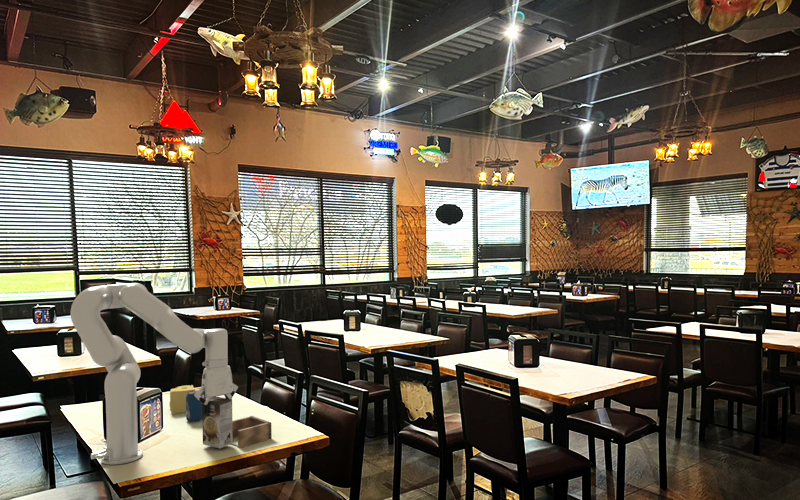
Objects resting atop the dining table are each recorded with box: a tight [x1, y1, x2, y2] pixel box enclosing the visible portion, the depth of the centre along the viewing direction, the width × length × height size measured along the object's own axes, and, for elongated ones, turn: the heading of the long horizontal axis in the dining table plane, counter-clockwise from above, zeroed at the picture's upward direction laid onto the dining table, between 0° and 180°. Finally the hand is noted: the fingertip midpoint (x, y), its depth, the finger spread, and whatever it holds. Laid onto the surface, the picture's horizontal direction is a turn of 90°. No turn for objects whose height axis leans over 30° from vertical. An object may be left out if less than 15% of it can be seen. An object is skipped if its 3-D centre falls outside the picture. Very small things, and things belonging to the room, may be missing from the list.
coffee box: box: [202, 396, 234, 449], centre depth 196 cm, size 9×6×16 cm
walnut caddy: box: [231, 415, 273, 449], centre depth 204 cm, size 13×13×6 cm
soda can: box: [185, 389, 204, 424], centre depth 229 cm, size 7×7×12 cm
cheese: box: [169, 384, 196, 415], centre depth 246 cm, size 10×11×10 cm
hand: (216, 412), depth 196 cm, fingers closed on coffee box, 7 cm apart
